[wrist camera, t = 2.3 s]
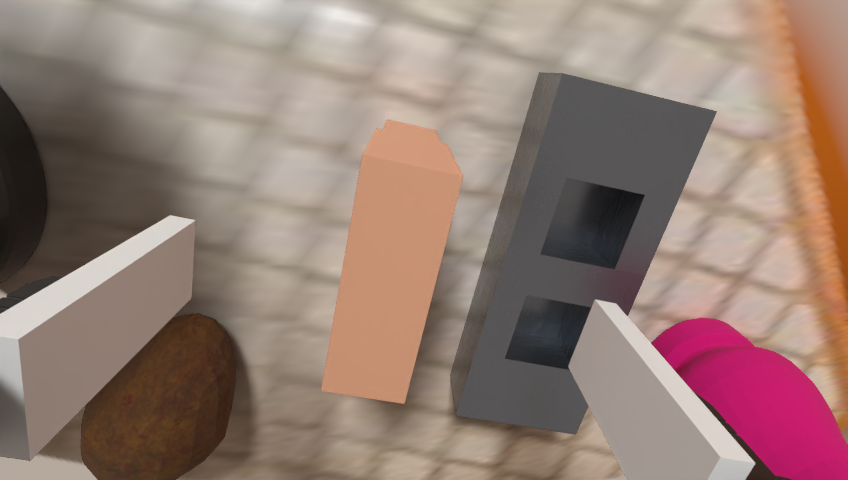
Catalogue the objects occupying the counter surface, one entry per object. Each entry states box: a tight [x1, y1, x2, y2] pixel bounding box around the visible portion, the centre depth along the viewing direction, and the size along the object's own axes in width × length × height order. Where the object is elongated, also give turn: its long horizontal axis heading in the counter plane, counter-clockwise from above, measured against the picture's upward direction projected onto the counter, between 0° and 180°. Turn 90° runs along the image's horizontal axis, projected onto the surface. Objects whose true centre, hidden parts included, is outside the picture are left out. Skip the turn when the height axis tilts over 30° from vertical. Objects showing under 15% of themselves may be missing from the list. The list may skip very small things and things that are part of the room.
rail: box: [450, 73, 717, 434], centre depth 24 cm, size 7×18×4 cm, turn 167°
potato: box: [81, 314, 236, 480], centre depth 24 cm, size 7×10×7 cm
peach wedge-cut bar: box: [321, 120, 463, 404], centre depth 19 cm, size 3×8×10 cm, turn 167°
